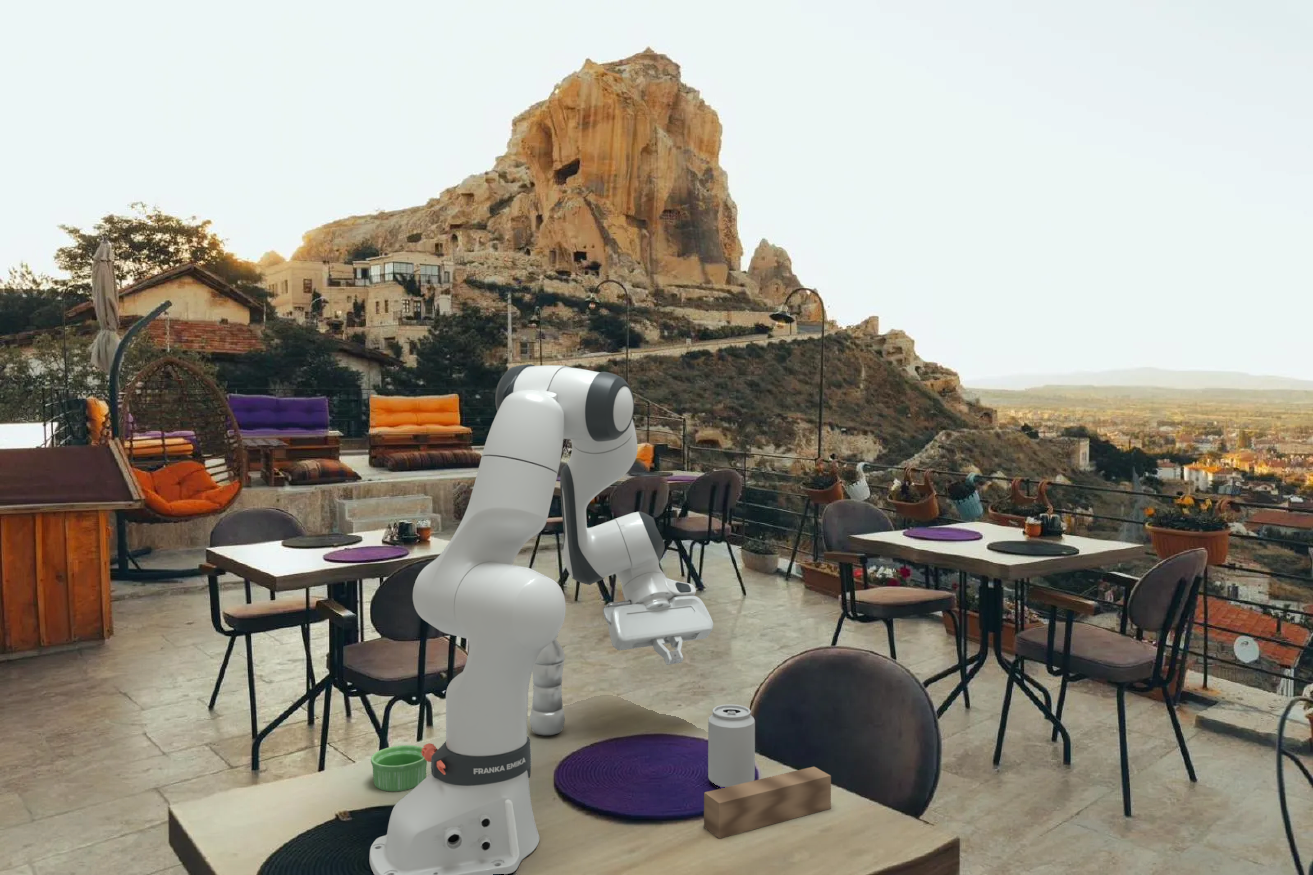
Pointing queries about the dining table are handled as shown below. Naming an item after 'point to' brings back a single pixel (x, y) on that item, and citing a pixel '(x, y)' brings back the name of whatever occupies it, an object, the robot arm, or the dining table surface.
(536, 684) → the plastic bottle
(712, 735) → the can
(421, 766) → the ramekin
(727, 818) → the wooden block
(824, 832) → the dining table surface
